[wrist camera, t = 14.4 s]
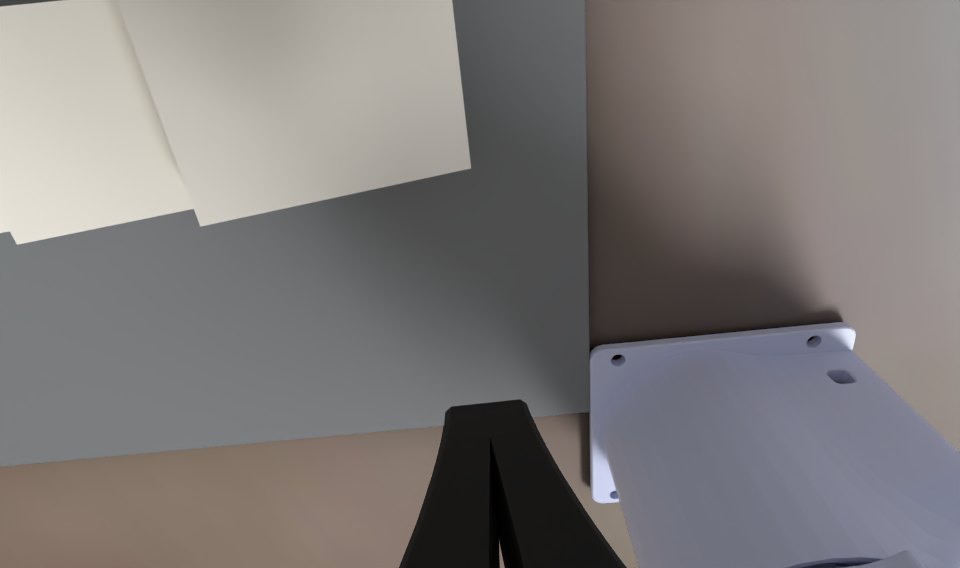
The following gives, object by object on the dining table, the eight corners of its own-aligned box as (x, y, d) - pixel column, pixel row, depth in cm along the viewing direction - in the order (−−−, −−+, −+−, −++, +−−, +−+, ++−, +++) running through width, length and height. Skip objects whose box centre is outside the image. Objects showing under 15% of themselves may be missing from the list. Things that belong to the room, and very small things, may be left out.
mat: (578, -230, 13) (582, -236, 12) (588, 405, 22) (590, 412, 21) (-474, -92, 14) (-499, -94, 13) (-47, 463, 22) (-55, 471, 22)
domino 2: (447, -42, 13) (113, -9, 11) (471, 168, 15) (200, 226, 13) (427, -36, 14) (127, -5, 12) (452, 156, 16) (204, 207, 14)
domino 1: (256, -19, 13) (-108, 16, 11) (308, 185, 15) (17, 244, 13) (255, -16, 14) (-70, 17, 12) (303, 172, 17) (37, 223, 15)
